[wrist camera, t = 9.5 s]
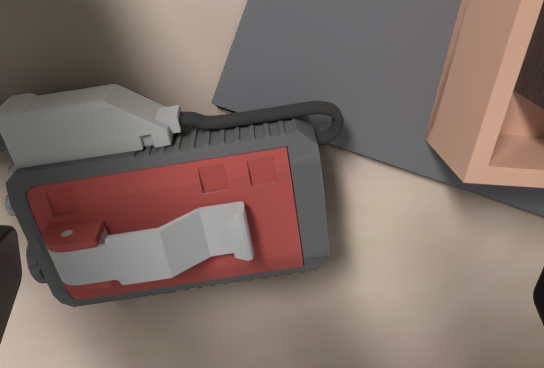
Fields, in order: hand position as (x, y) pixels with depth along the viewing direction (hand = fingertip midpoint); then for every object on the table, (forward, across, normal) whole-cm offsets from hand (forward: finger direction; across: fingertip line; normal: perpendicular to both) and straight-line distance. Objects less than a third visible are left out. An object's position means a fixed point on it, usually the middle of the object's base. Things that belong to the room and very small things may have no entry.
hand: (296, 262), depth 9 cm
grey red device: (+13, +6, +6) cm, 15 cm away
